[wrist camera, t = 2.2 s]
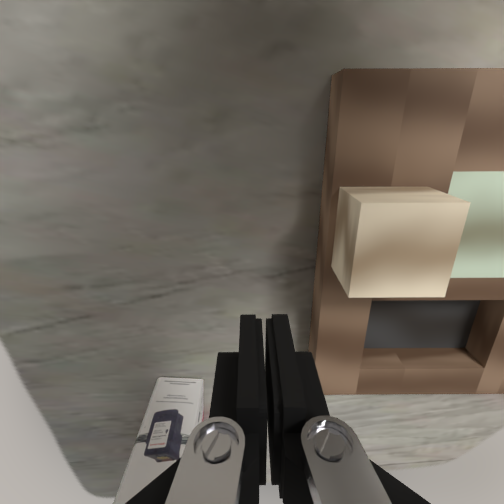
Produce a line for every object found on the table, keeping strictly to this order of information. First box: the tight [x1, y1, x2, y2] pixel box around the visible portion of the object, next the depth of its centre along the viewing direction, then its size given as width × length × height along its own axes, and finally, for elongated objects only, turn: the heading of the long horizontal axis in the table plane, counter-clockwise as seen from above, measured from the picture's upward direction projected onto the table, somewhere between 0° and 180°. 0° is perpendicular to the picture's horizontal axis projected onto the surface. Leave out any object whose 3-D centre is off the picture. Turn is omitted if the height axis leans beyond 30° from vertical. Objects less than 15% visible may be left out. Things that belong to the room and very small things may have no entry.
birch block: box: [331, 187, 471, 298], centre depth 20 cm, size 6×6×4 cm
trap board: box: [308, 68, 504, 395], centre depth 25 cm, size 26×24×3 cm
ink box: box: [113, 377, 204, 504], centre depth 28 cm, size 8×5×12 cm, turn 177°
